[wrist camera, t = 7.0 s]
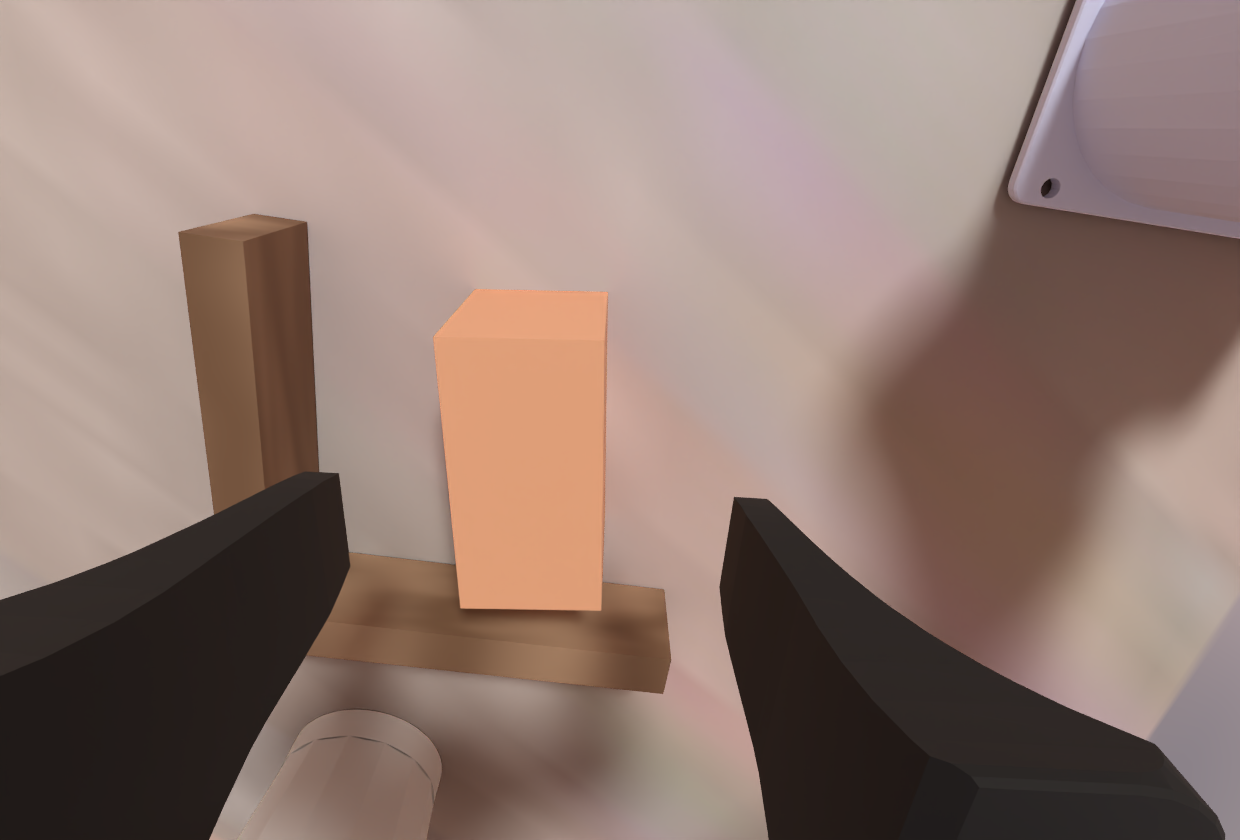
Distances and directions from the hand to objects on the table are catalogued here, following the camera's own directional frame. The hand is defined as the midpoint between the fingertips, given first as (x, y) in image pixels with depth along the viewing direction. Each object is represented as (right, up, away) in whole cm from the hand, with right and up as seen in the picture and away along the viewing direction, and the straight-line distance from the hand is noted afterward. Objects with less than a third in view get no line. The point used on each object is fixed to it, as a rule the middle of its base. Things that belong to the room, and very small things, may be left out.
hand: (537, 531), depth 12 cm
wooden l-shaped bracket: (-3, +1, +10) cm, 10 cm away
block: (-1, +2, +9) cm, 10 cm away
